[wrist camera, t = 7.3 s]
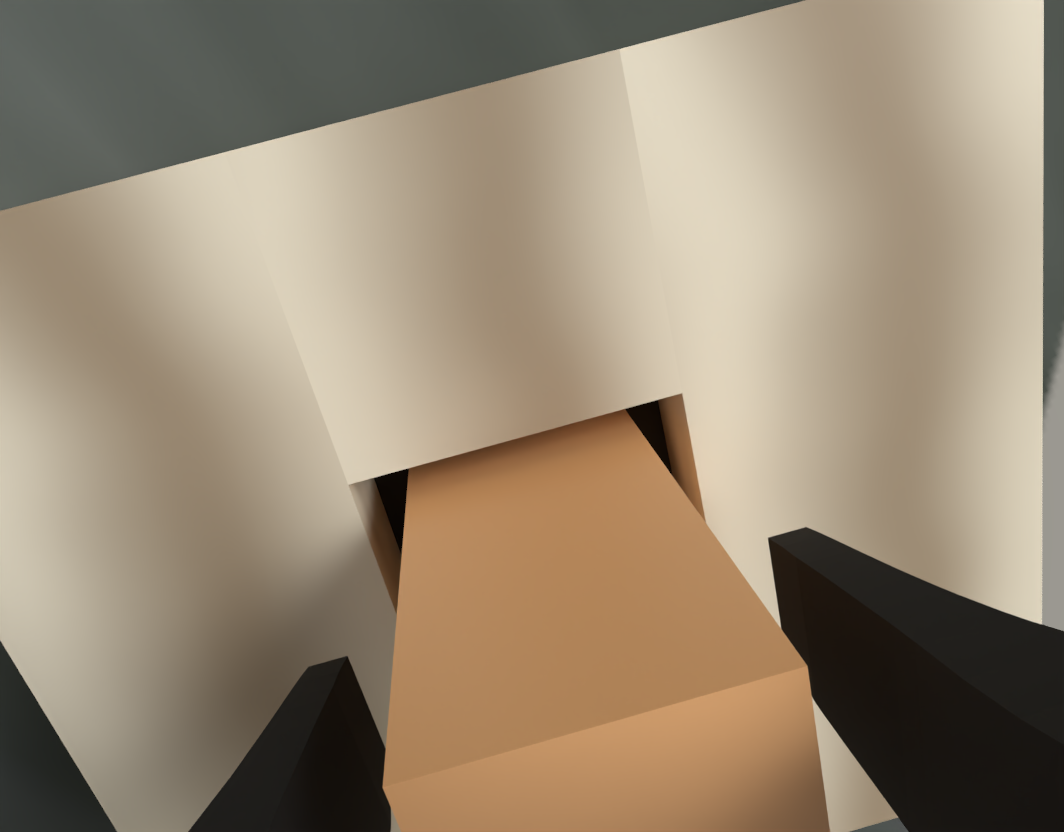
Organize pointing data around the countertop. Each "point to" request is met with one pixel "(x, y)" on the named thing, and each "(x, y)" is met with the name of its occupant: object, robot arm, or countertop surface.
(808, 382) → the holder plate
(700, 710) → the orange rectangular block
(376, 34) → the countertop surface
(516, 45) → the countertop surface
